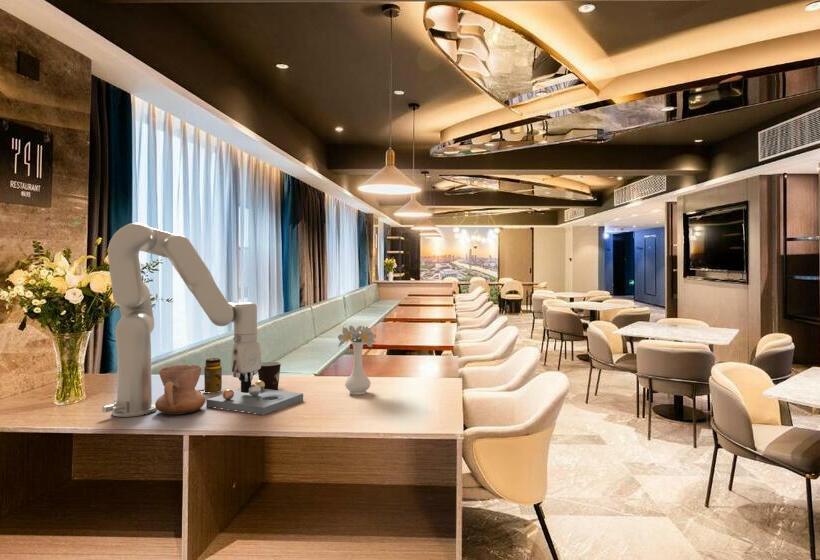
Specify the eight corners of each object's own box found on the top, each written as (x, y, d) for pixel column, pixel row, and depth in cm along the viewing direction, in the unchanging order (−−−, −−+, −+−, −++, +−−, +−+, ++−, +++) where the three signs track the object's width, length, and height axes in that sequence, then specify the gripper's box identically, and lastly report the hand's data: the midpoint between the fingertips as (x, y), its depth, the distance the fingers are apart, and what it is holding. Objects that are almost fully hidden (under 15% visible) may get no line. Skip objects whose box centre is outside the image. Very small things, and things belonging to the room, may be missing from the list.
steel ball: (244, 392, 170) (252, 399, 169) (249, 382, 169) (257, 389, 168) (251, 390, 174) (260, 397, 172) (256, 381, 173) (265, 387, 172)
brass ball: (260, 391, 177) (260, 381, 177) (252, 390, 178) (252, 380, 178) (266, 389, 180) (266, 379, 180) (259, 388, 182) (259, 379, 182)
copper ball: (228, 401, 163) (228, 391, 163) (220, 400, 165) (220, 389, 165) (236, 399, 166) (236, 388, 166) (228, 398, 168) (228, 387, 168)
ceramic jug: (171, 404, 170) (171, 362, 169) (214, 404, 169) (213, 362, 169) (141, 420, 152) (141, 373, 151) (189, 420, 151) (189, 373, 151)
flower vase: (379, 387, 195) (379, 322, 194) (369, 399, 176) (369, 328, 176) (346, 386, 196) (346, 322, 196) (333, 398, 178) (333, 327, 177)
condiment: (225, 391, 189) (225, 359, 189) (203, 395, 183) (202, 362, 183) (217, 387, 194) (217, 356, 194) (195, 391, 188) (195, 359, 188)
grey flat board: (206, 406, 166) (206, 399, 166) (249, 393, 184) (249, 386, 184) (263, 415, 156) (263, 407, 156) (303, 400, 174) (303, 393, 174)
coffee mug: (266, 393, 184) (266, 366, 184) (252, 390, 189) (252, 364, 189) (291, 388, 193) (291, 362, 193) (277, 385, 199) (277, 359, 198)
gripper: (238, 342, 164) (238, 398, 164) (269, 336, 177) (269, 388, 178) (220, 340, 167) (221, 396, 167) (252, 335, 180) (252, 386, 181)
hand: (246, 392), depth 172 cm, fingers closed
